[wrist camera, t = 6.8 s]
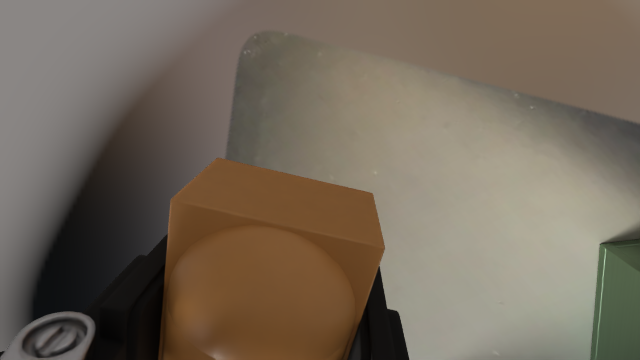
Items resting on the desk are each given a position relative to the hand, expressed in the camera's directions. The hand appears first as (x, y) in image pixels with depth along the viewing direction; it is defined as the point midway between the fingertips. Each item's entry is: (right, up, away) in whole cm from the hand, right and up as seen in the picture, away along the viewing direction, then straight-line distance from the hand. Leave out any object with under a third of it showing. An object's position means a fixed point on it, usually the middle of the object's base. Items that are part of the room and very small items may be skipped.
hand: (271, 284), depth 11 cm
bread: (0, 0, 0) cm, 0 cm away
